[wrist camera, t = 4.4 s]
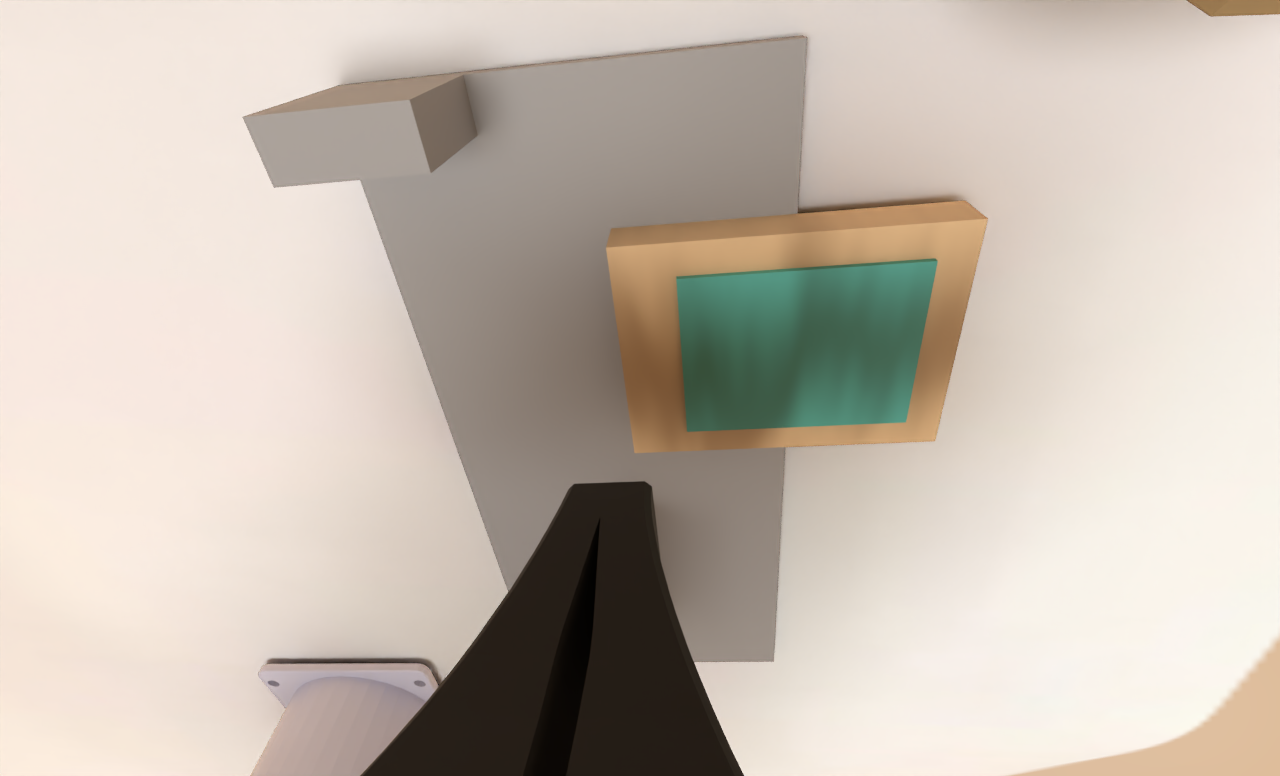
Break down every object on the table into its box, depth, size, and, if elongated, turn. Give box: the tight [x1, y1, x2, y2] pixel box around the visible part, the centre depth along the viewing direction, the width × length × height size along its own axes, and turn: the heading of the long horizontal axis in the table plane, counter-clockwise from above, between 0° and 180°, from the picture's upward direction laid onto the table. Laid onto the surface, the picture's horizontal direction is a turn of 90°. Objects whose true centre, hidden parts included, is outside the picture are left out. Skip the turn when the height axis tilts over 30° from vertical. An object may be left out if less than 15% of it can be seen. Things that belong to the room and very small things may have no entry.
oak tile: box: [606, 201, 988, 453], centre depth 15 cm, size 6×1×8 cm
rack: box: [243, 36, 807, 662], centre depth 17 cm, size 22×10×4 cm, turn 6°
